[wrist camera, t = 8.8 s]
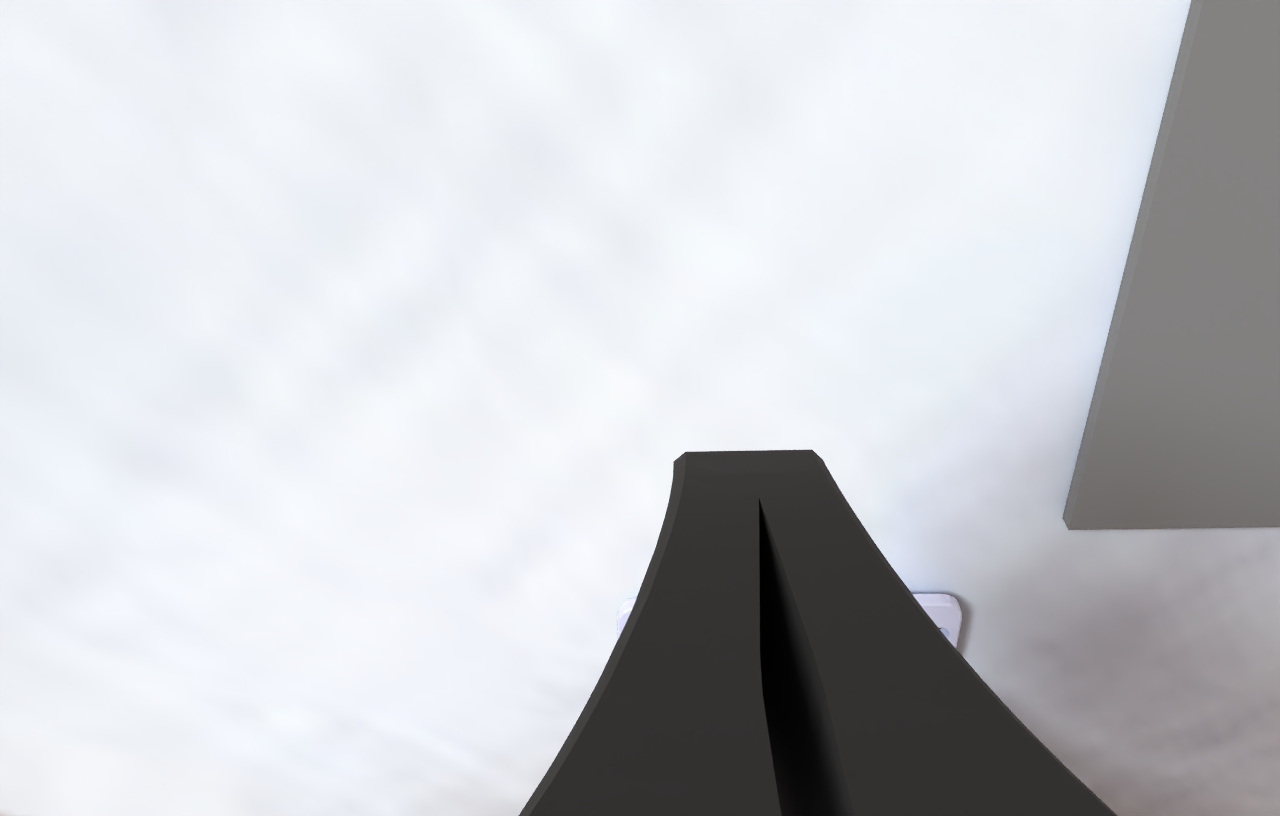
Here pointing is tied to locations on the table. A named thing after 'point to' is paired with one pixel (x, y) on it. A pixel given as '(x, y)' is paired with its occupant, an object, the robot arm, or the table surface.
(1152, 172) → the mat
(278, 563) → the table surface
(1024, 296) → the table surface
